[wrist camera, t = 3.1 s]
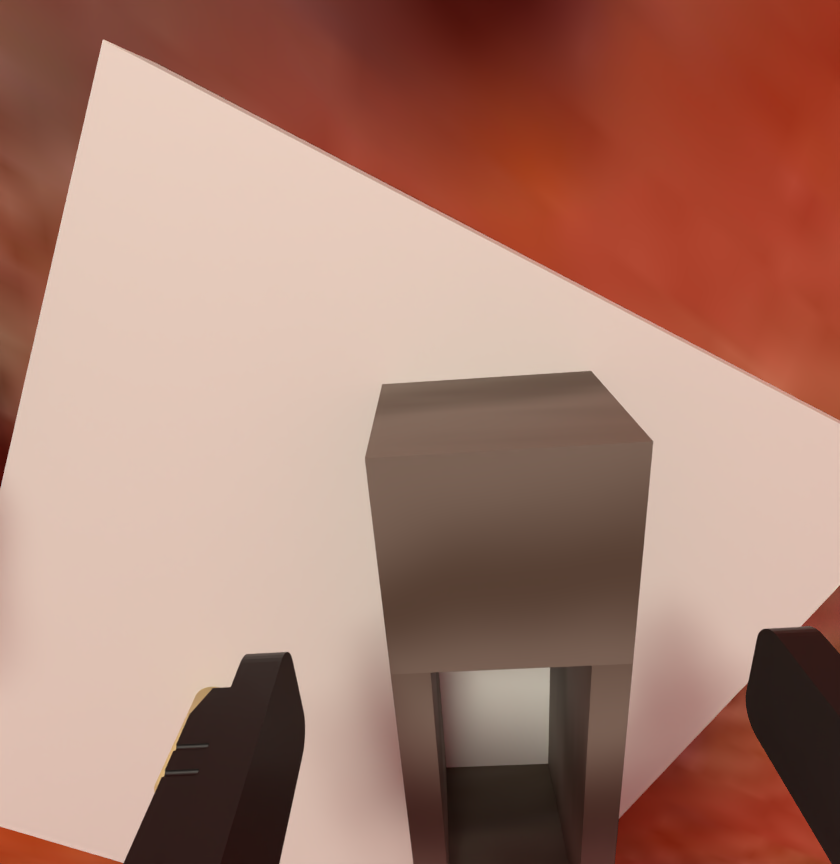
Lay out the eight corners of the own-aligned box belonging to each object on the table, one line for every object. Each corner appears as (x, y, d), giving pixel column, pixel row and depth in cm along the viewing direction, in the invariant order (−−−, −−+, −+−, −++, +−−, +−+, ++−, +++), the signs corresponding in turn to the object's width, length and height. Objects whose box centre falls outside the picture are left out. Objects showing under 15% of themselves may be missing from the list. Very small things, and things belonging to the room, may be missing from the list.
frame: (382, 384, 17) (364, 458, 12) (591, 370, 17) (653, 441, 12) (427, 834, 25) (427, 983, 20) (570, 829, 24) (603, 979, 20)
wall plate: (873, 437, 21) (1055, 541, 15) (473, 898, 31) (484, 1067, 25) (157, 64, 16) (2, -7, 10) (-22, 741, 27) (-149, 899, 21)
